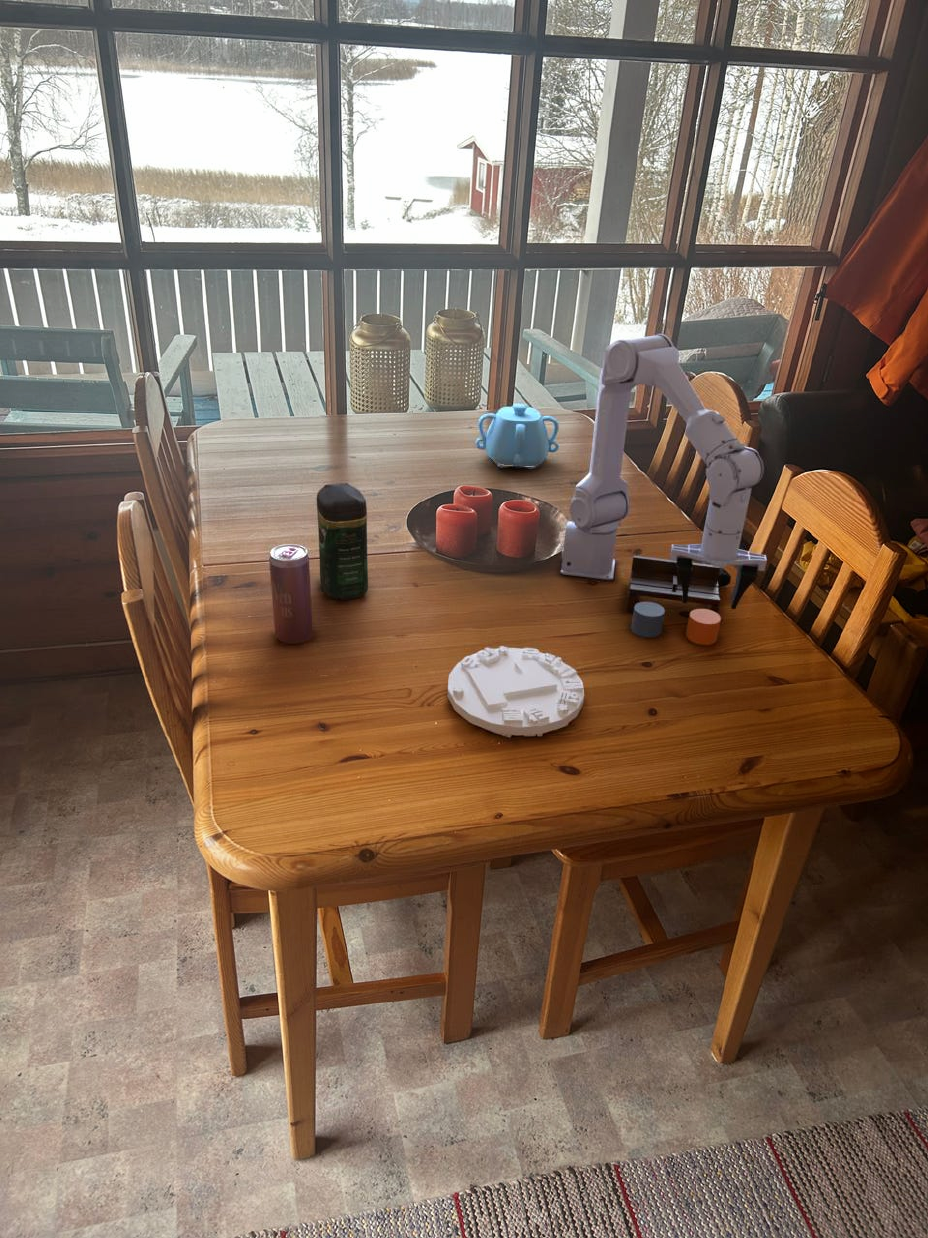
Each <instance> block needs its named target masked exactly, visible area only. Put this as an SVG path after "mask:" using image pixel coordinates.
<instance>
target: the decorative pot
mask: <svg viewBox="0 0 928 1238" xmlns="http://www.w3.org/2000/svg"><path fill="white" fill-rule="evenodd" d="M489 419H492V421H491V423H490V425H489V427H488V429H487V432H486V433H485V429H484V421H486V420H489ZM547 421H549V422H552V423H553V431H552V432H551V435H550V437H549V433H548V429H547V426H546V422H547ZM477 425H478V427H477V428H478V431H479V434H480V437H479V438H477V439H476V440H475V447H476V448H477V450H480V451H481V450H485V452H486V454H487V456H488V457H489V459H490V458H491V459H492V460H493V461H495V462H497V463H500V464H504V465H513V466H534V467H524V468H525V469H529V470H533V469H536V467H537V466H536V465H538V466H539V464H540V465H541V464H542V463H543V462H544V461H545V459H546V458H547V457H548V455H549V453H551V454H552V453H553V454H554V453H556V452H558V451H559V449H560V448H559V447H560V445H559V442H558V441H555V439H556V436H557V434H558V432H559V430H560V429H559V428H560V423H559V421H558V420H557V419H556V418H555V417H553V416H552V415H543V416H542V414H541V412H540V410H537V409H536V408H534V407H528V406H527V404H524V403H514V404H512V406H503V407H501V408H499V409H498V411H497V412H496V414H495V413H492V412H491V413H490V412H489V413H488V412H487V413H485V414H483V415H481V416H480V418H479V419H478V424H477ZM480 442H482V444H480ZM552 445H554V447H552ZM491 459H490V460H491ZM492 460H491V461H492ZM493 461H492V462H493ZM496 466H497V467H499V468H502V469H504V468H508V467H509V466H502V465H498V464H496Z"/></svg>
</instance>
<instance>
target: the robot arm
mask: <svg viewBox="0 0 928 1238" xmlns="http://www.w3.org/2000/svg"><path fill="white" fill-rule="evenodd" d="M679 361H680V352H679V350H678V349H677V348H676V347H675V346H674V344H673V341H672V339H670V337H668V336H667V335H666V334H663V333H656V334H653V335H649V336H641V337H635V338H629V339H617V340H615V341H613V342H612V343H611V344H609V345H608V346H606V347H605V348H604V353H603V363H602V368H601V371H600V373H599V379H598V388H597V389H598V390H597V398H596V407H595V417H594V426H593V434H592V435H593V436H592V437H593V438H592V443H591V454H590V462H589V463H590V464H589V470H588V471H589V472H588V473H587V474H586V476H584V478H582V479H581V480H580V481H579V482H578V483H577V484H576V486H575V487H574V488H575V489H574V494H573V497H572V498H571V501H570V504H569V516H570V517H571V520H572V521H570V520H569V521H567V523H566V527H565V532H564V533H565V534H564V542H563V548H562V549H561V558H560V559H561V570H560V574H561V575H565V576H574V577H582V578H588V579H596V580H603V581H604V580H606V581H612V580H614V572H615V564H616V560H615V559H614V557H615V549H616V541H617V534H618V527H621V525H622V520H624V519H626V518H627V517H628V515H629V513H630V510H631V502H630V497H629V488H630V485H629V483H628V482H627V481H626V480H625V479H624V478H623V477H621V473H622V467H623V457H624V452H625V450H624V449H625V444H626V443H625V442H626V435H627V426H628V420H629V419H628V418H629V412H630V411H629V410H630V404H631V395H632V390H633V389H634V388H636V387H637V386H638V385H643V386H648V387H656V388H658V390H659V391H660V392H661V394H662V395H663V396H664V397H665V399H666V400H667V401H668V402H669V403H670V404H671V406H672V407H673V409H675V411H676V412H677V413H678V414H679V415H680V417H681V418H682V419H683V421H684V422H685V423H686V425H685V430H684V431H685V432H684V434H685V436H686V438H687V439H688V441H689V443H690V444H691V445H692V447H693V448H694V449H695V452H697V454H698V455H699V456H700V458H701V460H702V461H703V462H704V464H705V466H706V468H705V477H706V482H707V484H708V494H707V495H708V496H709V497H708V499H709V501H708V506H707V511H706V516H705V517H706V518H705V521H704V527H703V533H702V539H701V543H695V544H673V543H672V544H671V547H670V553H669V560H673V561H677V571H678V574H679V577H680V580H681V585H682V591H683V595H682V601H681V603H682V604H688V602H687V600H688V590H689V584H690V579H691V575H692V565H693V563H692V562H693V561H697V562H705V563H711V564H712V565H713V566H714V567H721V568H723V569H726V567H727V566H732V567H737V572H736V578H735V582H734V587H733V590H732V594H731V597H730V609H731V610H736V609H737V606H738V604H739V603H740V600H741V598H742V597H743V596H744V594H745V592H746V591H747V590H748V589H749V588H750V586H751V585H753V584H754V582H755V581H756V580H757V577H758V572H759V571H760V572H765V571H766V567H767V561H768V559H767V554H761V553H757V552H752V551H748V550H744V549H740V545H741V540H742V536H743V531H744V526H745V522H746V517H747V513H748V509H749V508H748V507H749V503H750V498H751V495H752V490H753V488H752V487H753V486H755V485H756V484H758V483H760V481H761V480H762V478H763V476H764V471H765V469H764V467H765V466H764V462H763V460H762V457H761V456H760V454H759V451H757V450H756V449H754V448H753V447H748V446H746V445H745V444H744V443H742V442H740V440H738V439H737V436H736V435H735V434H734V432H733V431H732V430H731V429H730V427H729V426H728V424H727V423H726V422H725V421H726V418H725V417H724V415H723V414H722V413H719V412H718V411H717V410H713V409H707V408H706V407H705V405H704V404H703V402H702V400H701V398H700V397H699V395H698V393H697V391H696V390H695V388H694V386H693V385H692V383H691V382H690V380H689V379H688V377H687V375H686V373H685V372H684V370H683V368H682V367H681V365H680V363H679Z"/></svg>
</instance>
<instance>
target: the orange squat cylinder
mask: <svg viewBox="0 0 928 1238" xmlns="http://www.w3.org/2000/svg"><path fill="white" fill-rule="evenodd" d="M721 621H722V617H721V615H720V614H719V613H718V614H717V613H716V612H714V611H712V610H708V608H696V609H695V608H694V609H693V610H691V611H690V612H689V616H688V622H687V627H686V630H685V631H686V632H685V637H686V639H687V640H689V641H690V642H691V643H693V644H696V645H701V646H709V645H714V644H715V643H716V642H717V641H718V635H719V632H720V631H719V630H720V626H721Z"/></svg>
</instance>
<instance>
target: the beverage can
mask: <svg viewBox="0 0 928 1238" xmlns="http://www.w3.org/2000/svg"><path fill="white" fill-rule="evenodd" d="M268 564H269V575H270V587H271V588H270V590H271V600H272V601H271V602H272V613H273V626H274V635H275V637H276V638H277V639H278V640H279V641H280V642H281V643H284V644H287V645H299V644H303V643H305V642H308V640H309V639H310V638H311V636H312V635H313V633H314V627H313V610H312V608H313V607H312V591H311V589H312V588H311V575H310V574H311V572H310V557H309V554H308V550H307V548H306V547H305V546H302V545H300V544H294V543H287V544H286V543H285V544H280V545H278V546H274V547H273V548H271V550H270V551H269V558H268Z"/></svg>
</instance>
